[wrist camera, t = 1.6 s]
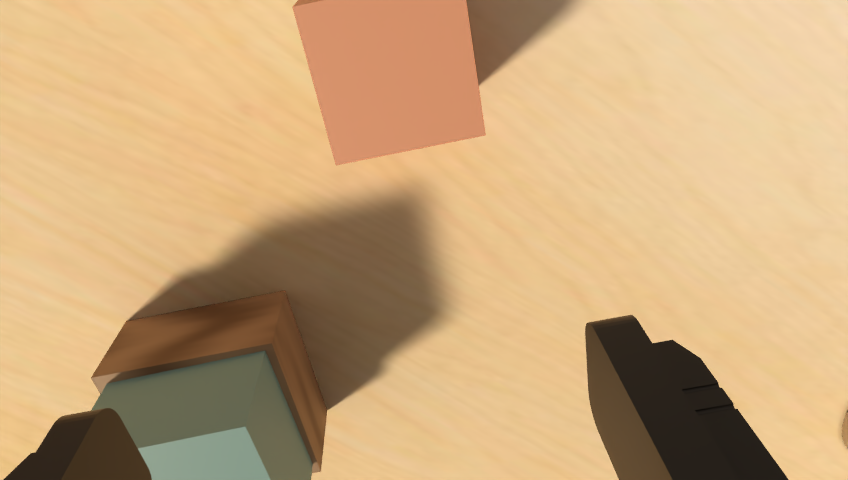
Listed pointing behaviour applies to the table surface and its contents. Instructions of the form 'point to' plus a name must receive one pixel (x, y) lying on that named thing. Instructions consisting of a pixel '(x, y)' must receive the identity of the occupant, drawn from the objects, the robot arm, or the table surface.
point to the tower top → (212, 422)
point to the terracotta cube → (391, 74)
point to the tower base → (225, 352)
